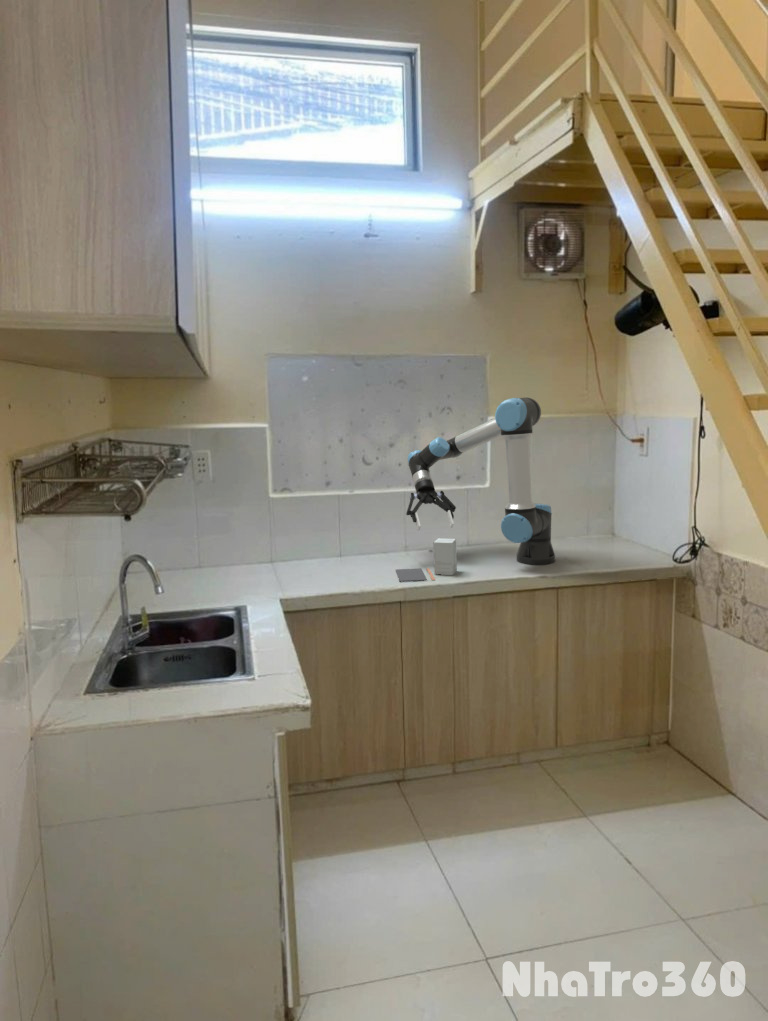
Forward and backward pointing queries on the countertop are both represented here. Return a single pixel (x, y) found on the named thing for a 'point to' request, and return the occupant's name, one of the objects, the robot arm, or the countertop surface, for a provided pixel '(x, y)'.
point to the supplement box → (445, 556)
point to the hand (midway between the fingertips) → (435, 527)
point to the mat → (410, 574)
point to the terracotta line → (430, 574)
